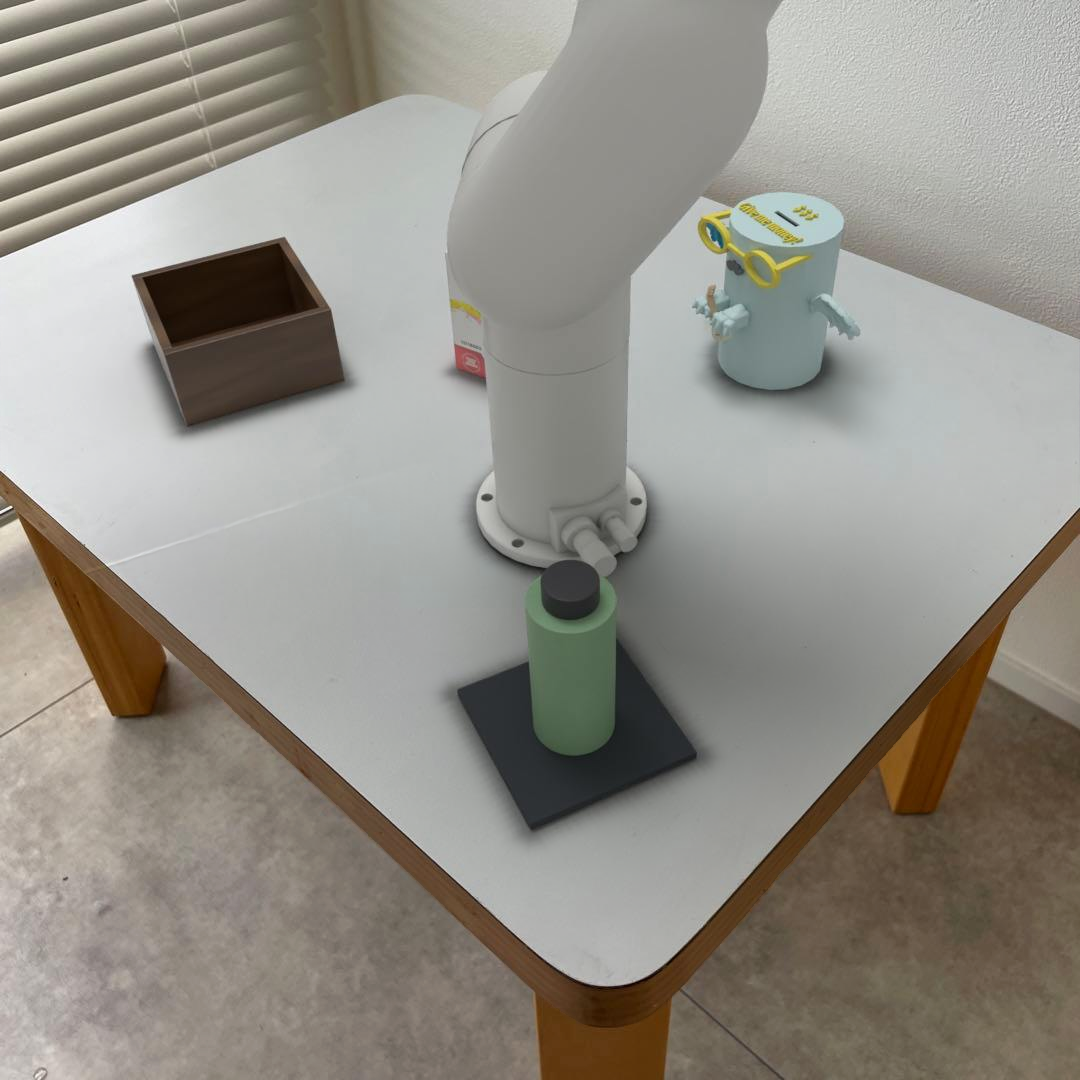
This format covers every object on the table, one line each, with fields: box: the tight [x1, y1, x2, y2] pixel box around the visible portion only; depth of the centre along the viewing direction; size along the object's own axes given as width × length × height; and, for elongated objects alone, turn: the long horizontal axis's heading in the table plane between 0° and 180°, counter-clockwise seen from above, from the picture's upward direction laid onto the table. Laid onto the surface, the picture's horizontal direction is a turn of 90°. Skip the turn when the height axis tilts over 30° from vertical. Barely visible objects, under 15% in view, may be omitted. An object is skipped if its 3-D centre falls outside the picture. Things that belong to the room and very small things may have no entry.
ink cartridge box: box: [444, 249, 486, 379], centre depth 92 cm, size 9×5×15 cm, turn 58°
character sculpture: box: [691, 191, 861, 391], centre depth 92 cm, size 20×12×13 cm, turn 29°
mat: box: [456, 637, 698, 830], centre depth 70 cm, size 11×11×1 cm
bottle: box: [524, 560, 617, 756], centre depth 65 cm, size 5×5×12 cm
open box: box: [131, 236, 346, 428], centre depth 97 cm, size 14×14×7 cm
